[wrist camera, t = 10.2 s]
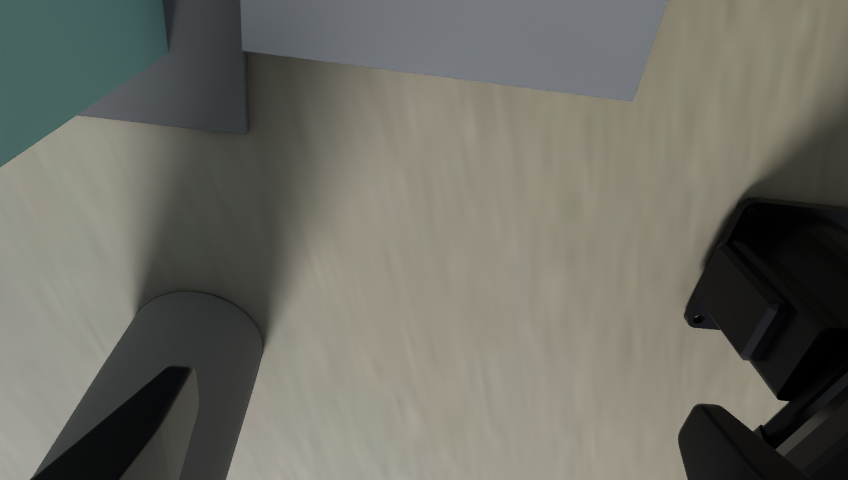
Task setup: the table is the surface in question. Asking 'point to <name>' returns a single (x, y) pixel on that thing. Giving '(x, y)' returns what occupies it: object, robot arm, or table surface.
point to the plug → (68, 60)
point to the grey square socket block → (469, 39)
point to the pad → (189, 73)
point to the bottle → (186, 346)
